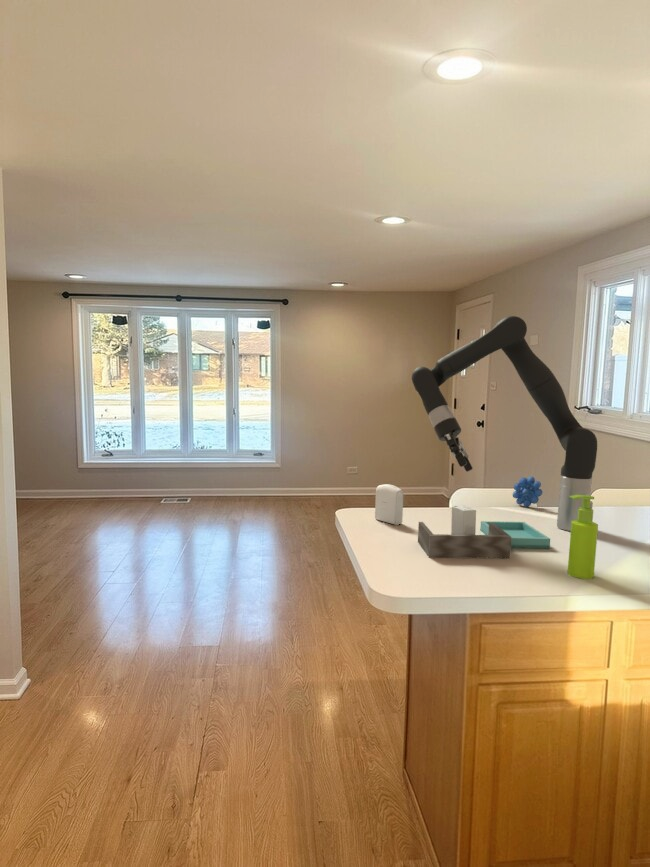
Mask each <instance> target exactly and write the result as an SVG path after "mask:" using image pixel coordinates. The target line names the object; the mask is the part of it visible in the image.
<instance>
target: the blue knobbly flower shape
mask: <svg viewBox="0 0 650 867" xmlns="http://www.w3.org/2000/svg"><path fill="white" fill-rule="evenodd" d="M541 485H542V483H541V481H539V480H536V478H535V477H534V476H529V477H528V478H526V477H524V476H523V477H521V478H520V479H519V480H518V482H517V483H515V484H514V485H513V493H512V497H513V499H516V501H515V502H516V504H517V505H519V506H521V505H523V506H524V507H525V508H528V507H530V506H531V505H532V504H533V505H536V504H537V503H539V500H540V499H539V497H541V496H542V495H543V490H542V489H541Z"/></svg>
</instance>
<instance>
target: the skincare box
mask: <svg viewBox="0 0 650 867" xmlns="http://www.w3.org/2000/svg"><path fill="white" fill-rule="evenodd" d="M476 526H477V510H476V509H474V508H472V507H468V506H466V505H462V504H460V505H453V506H451V526H450V527H451V529H450V530H451V531H450V535H476V532H477V531H476V530H477V529H476V528H477V527H476Z"/></svg>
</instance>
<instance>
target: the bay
mask: <svg viewBox="0 0 650 867" xmlns="http://www.w3.org/2000/svg"><path fill="white" fill-rule="evenodd" d="M417 543H418V545H419V546H420V548H421V549H422V550H423V551H424V552H425V555H426V556H427V557H428V558H433V559H434V558H435V559H436V558H438V559H439V558H440V559H442V558H445V557H446V558H445V559H451V558H452V559H511V549H512V548H511V536H510V535H508V534H507V533H506V532H504V531H503V530H502V529H500V528H499V527H498V526H496V525H495V524H494V523H489V533H488V535H485V534H475V535H451V534H447V533H446V534H445V533H444V534H438V533H436V534H435V533H433V532H432V531H431V529H430V528H428V525H426V523H425V522H423V521H418V530H417Z"/></svg>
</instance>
